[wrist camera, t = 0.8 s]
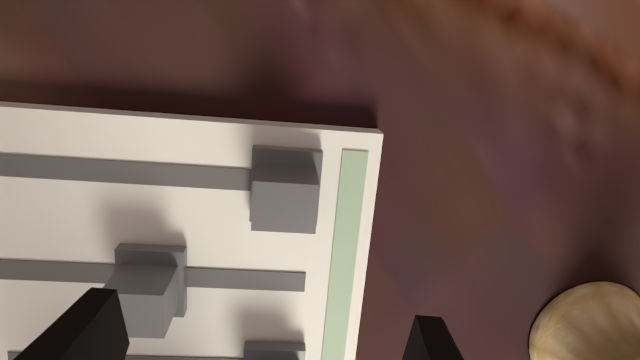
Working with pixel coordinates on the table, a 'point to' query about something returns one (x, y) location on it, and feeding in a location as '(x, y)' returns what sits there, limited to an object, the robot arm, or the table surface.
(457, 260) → the table surface
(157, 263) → the knob
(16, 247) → the switch board
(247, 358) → the knob
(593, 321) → the hand bell
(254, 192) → the knob
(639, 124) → the table surface
